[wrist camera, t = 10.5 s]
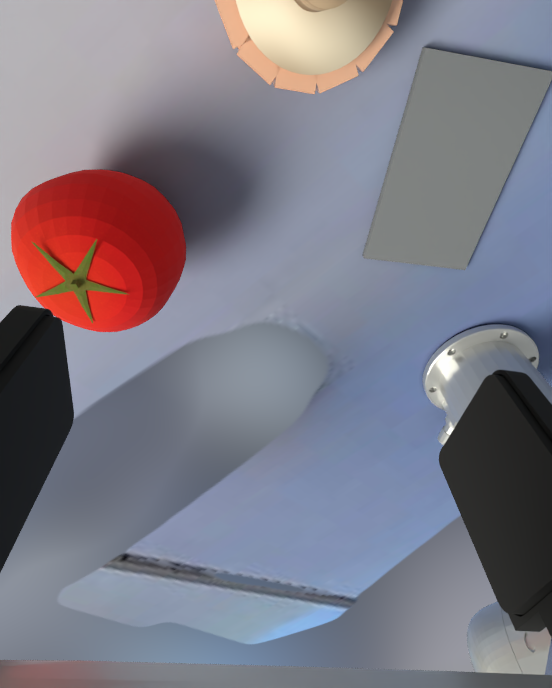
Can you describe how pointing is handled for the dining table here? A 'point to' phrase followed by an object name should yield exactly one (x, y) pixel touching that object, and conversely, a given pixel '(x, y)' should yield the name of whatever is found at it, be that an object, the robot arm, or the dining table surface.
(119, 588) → the dining table surface
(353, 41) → the lid
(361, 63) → the bowl
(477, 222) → the mat
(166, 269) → the tomato
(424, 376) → the robot arm
